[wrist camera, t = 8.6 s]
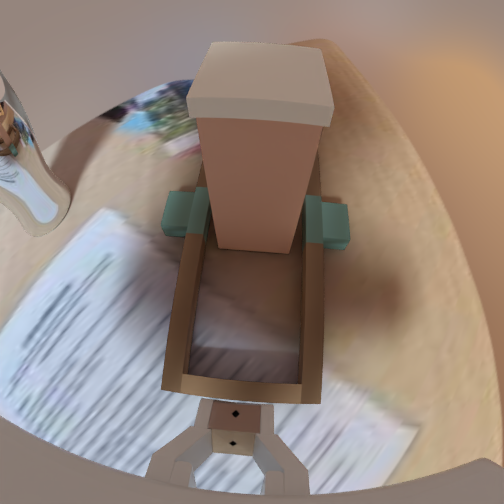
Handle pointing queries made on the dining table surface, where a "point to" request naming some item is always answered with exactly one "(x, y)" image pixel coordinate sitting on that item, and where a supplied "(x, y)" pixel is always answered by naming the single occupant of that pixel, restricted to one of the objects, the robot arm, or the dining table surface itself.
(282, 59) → the block
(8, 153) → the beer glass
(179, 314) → the open rectangular frame
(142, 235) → the dining table surface
